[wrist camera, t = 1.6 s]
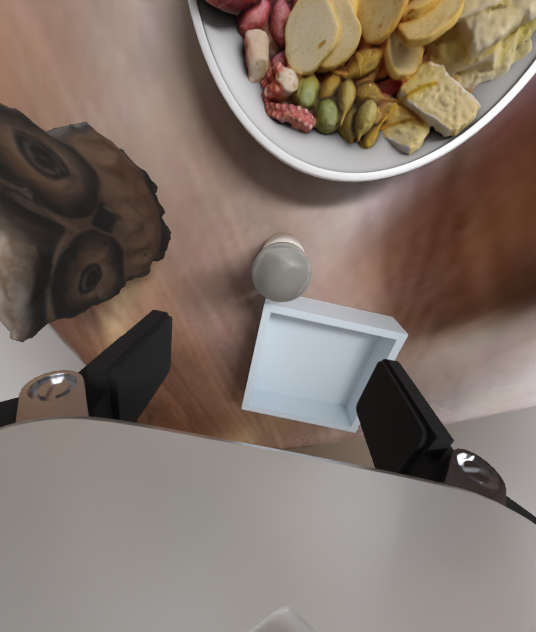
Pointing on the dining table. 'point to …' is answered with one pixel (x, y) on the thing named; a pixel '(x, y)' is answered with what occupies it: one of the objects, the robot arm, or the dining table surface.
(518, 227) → the dining table surface
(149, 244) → the owl
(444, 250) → the dining table surface
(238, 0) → the bowl
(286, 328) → the tote
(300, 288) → the canister
